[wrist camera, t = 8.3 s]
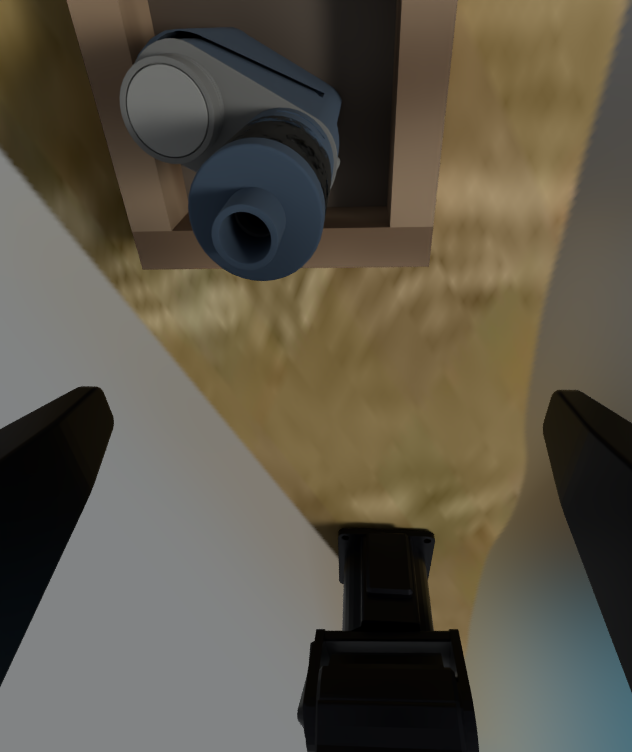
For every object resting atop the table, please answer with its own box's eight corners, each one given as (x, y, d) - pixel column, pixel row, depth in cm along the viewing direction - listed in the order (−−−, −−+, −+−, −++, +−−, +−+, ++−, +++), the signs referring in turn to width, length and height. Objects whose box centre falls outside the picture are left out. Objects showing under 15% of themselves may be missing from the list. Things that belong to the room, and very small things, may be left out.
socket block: (420, 237, 20) (428, 266, 17) (167, 240, 21) (142, 269, 18) (456, -146, 13) (477, -183, 11) (82, -115, 14) (26, -142, 12)
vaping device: (324, 167, 18) (283, 335, 8) (193, 92, 17) (-30, 187, 7) (358, 97, 16) (357, 203, 7) (218, 10, 15) (-22, -9, 6)
